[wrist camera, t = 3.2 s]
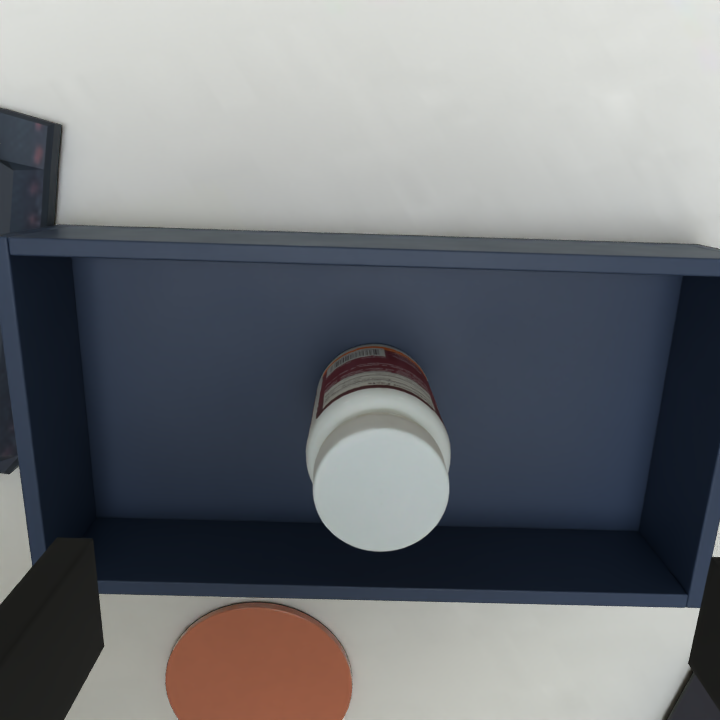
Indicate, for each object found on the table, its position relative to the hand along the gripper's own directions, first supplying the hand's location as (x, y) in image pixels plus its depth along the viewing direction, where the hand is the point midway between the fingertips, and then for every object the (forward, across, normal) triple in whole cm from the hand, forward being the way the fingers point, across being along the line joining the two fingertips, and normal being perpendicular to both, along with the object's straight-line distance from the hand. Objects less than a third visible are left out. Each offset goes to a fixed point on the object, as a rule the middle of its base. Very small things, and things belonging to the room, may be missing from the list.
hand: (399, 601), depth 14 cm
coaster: (+14, -5, -15) cm, 21 cm away
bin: (+14, 0, 0) cm, 14 cm away
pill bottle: (+14, 0, 0) cm, 14 cm away
